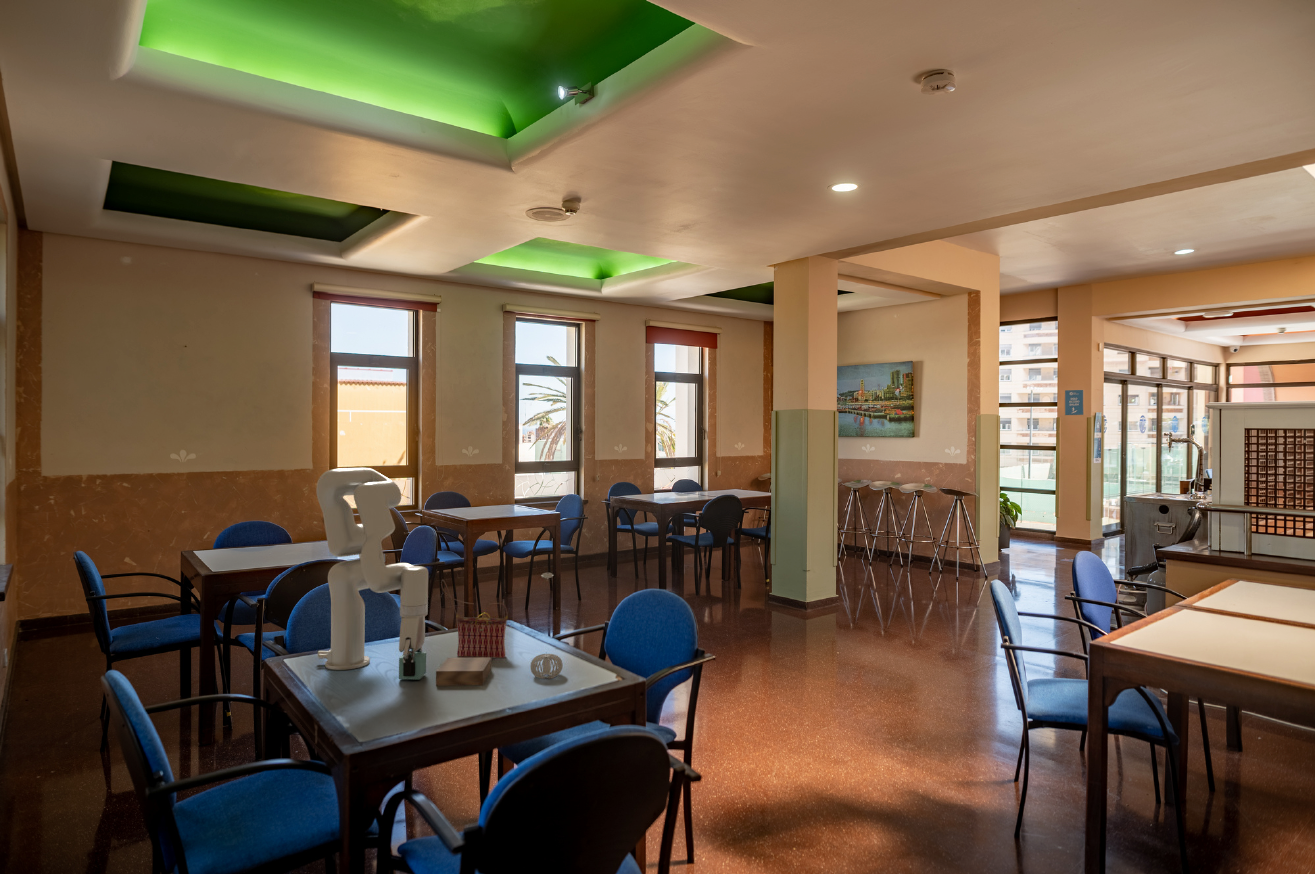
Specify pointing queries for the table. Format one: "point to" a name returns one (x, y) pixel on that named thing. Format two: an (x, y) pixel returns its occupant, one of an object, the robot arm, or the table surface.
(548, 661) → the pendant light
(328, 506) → the robot arm
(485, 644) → the handbag
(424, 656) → the teal block
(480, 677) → the walnut plinth
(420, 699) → the table surface
